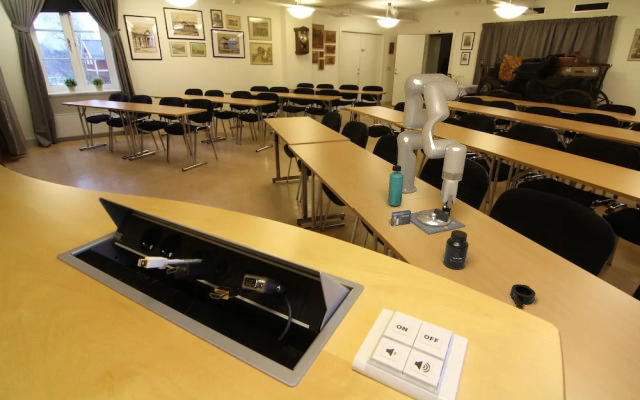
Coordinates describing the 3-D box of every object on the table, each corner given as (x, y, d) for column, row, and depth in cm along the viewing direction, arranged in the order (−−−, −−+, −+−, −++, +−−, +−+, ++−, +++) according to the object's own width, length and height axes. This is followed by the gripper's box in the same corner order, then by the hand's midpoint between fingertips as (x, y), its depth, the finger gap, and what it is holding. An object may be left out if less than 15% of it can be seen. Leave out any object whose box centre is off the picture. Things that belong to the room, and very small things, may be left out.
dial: (409, 218, 139) (410, 206, 137) (429, 209, 146) (430, 198, 144) (437, 230, 128) (438, 217, 126) (457, 220, 136) (459, 208, 134)
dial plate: (403, 216, 143) (403, 214, 142) (436, 210, 148) (436, 208, 148) (428, 234, 127) (428, 232, 127) (464, 227, 133) (465, 224, 132)
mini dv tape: (392, 226, 135) (393, 213, 132) (390, 225, 136) (391, 212, 134) (410, 224, 136) (411, 211, 134) (408, 222, 138) (409, 209, 135)
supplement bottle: (453, 272, 104) (459, 240, 99) (438, 261, 110) (443, 230, 105) (469, 267, 107) (475, 235, 102) (453, 257, 112) (458, 226, 108)
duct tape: (496, 294, 94) (498, 286, 93) (523, 287, 97) (525, 279, 96) (518, 311, 88) (521, 303, 86) (546, 303, 90) (549, 295, 89)
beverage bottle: (401, 209, 151) (405, 168, 143) (387, 208, 152) (389, 167, 144) (401, 203, 156) (404, 164, 149) (387, 202, 158) (389, 163, 150)
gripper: (440, 168, 135) (435, 207, 143) (443, 180, 122) (437, 222, 130) (459, 169, 133) (453, 209, 141) (464, 182, 120) (456, 225, 128)
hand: (445, 215), depth 135 cm, fingers closed
